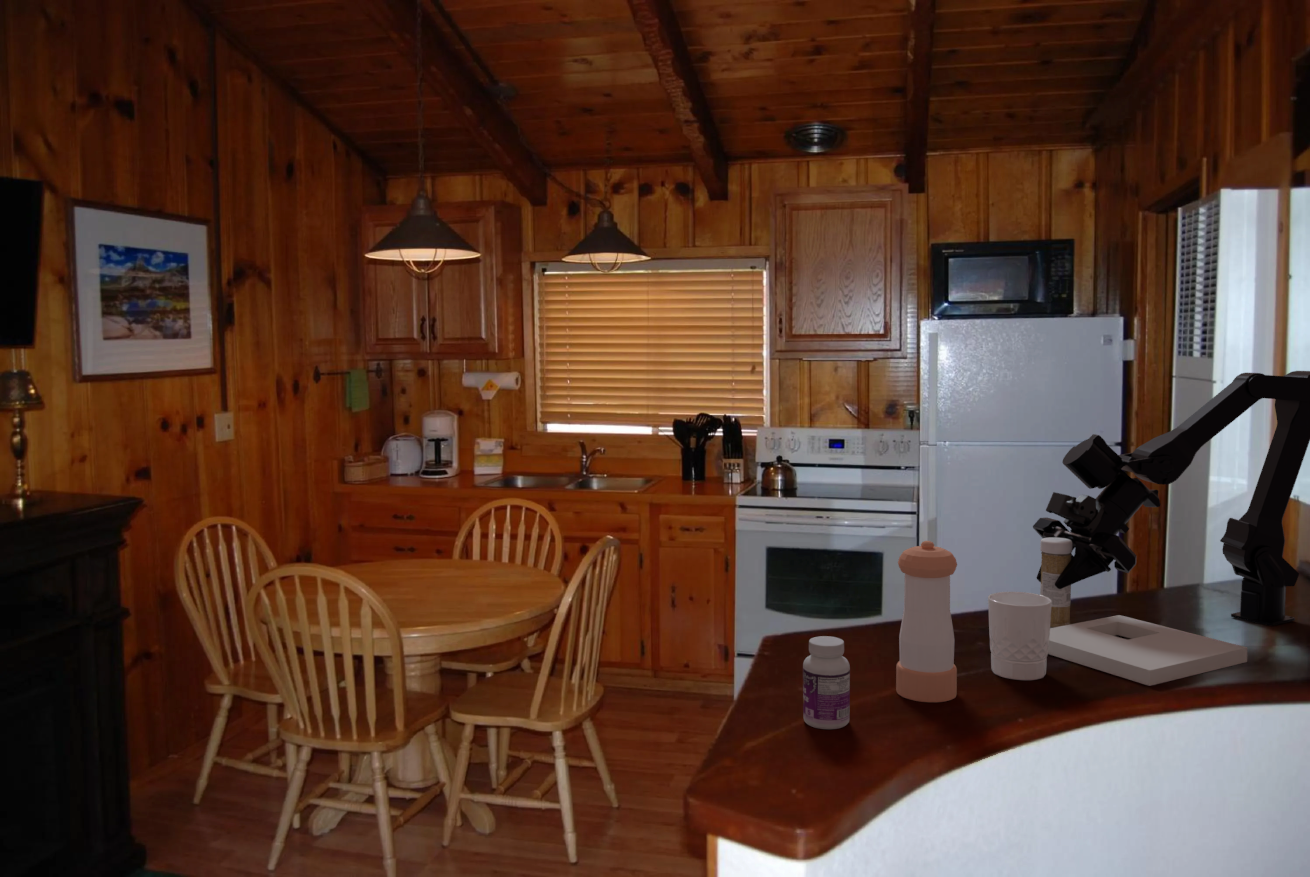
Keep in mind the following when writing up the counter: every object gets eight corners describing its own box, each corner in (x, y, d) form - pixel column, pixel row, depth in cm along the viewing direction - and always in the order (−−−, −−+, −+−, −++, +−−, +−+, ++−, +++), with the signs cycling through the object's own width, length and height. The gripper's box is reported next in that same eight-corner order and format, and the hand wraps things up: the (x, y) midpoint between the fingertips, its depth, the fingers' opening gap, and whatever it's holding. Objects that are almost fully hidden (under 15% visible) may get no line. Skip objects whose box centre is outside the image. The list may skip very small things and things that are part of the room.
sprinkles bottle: (1048, 619, 161) (1050, 535, 160) (1076, 625, 158) (1078, 539, 157) (1033, 624, 158) (1034, 539, 157) (1060, 630, 155) (1062, 543, 154)
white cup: (1049, 666, 137) (1050, 593, 137) (1051, 684, 130) (1053, 607, 129) (987, 661, 140) (988, 590, 139) (986, 679, 133) (987, 603, 132)
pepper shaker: (946, 706, 123) (948, 548, 121) (888, 696, 126) (889, 543, 125) (963, 689, 129) (965, 539, 127) (907, 680, 133) (908, 534, 131)
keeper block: (1118, 627, 156) (1119, 614, 156) (1246, 661, 138) (1247, 647, 138) (1025, 646, 147) (1025, 633, 146) (1149, 685, 129) (1149, 670, 129)
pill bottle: (798, 715, 120) (798, 634, 120) (842, 713, 121) (842, 633, 120) (809, 731, 115) (808, 647, 114) (855, 729, 115) (855, 646, 115)
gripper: (1044, 467, 166) (982, 538, 164) (1120, 481, 148) (1051, 561, 146) (1086, 513, 168) (1025, 583, 167) (1166, 532, 150) (1098, 611, 149)
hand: (1047, 583), depth 157 cm, fingers closed on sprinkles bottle, 4 cm apart
